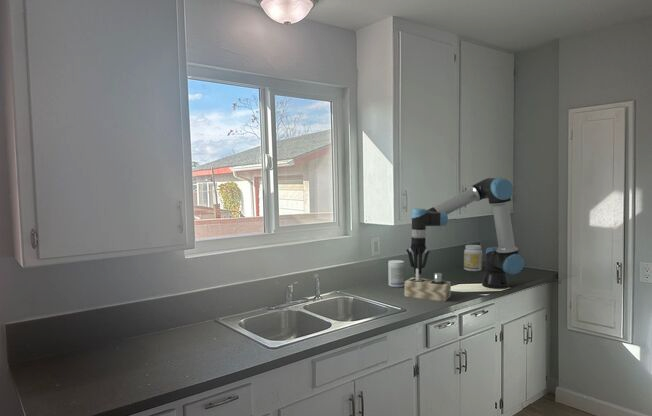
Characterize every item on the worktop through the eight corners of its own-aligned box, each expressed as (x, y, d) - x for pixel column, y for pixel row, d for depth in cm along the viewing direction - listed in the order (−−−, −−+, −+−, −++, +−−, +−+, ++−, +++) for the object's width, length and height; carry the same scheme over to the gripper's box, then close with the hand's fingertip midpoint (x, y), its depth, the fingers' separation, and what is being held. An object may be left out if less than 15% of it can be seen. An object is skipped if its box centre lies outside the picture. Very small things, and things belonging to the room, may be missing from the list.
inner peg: (442, 286, 249) (442, 273, 249) (440, 288, 246) (440, 274, 245) (435, 285, 251) (435, 272, 251) (433, 287, 248) (433, 273, 247)
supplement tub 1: (407, 286, 274) (408, 261, 273) (395, 288, 269) (396, 263, 268) (396, 283, 282) (397, 259, 281) (384, 285, 277) (385, 260, 276)
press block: (450, 296, 252) (450, 281, 251) (445, 301, 241) (445, 285, 240) (411, 291, 262) (411, 277, 261) (404, 296, 251) (404, 281, 251)
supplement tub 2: (470, 267, 332) (471, 244, 331) (485, 270, 322) (486, 246, 321) (459, 269, 325) (460, 245, 324) (474, 272, 315) (475, 247, 314)
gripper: (404, 237, 252) (404, 280, 253) (428, 238, 245) (427, 282, 247) (409, 235, 258) (408, 277, 260) (432, 237, 252) (431, 280, 254)
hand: (417, 279), depth 253 cm, fingers closed
